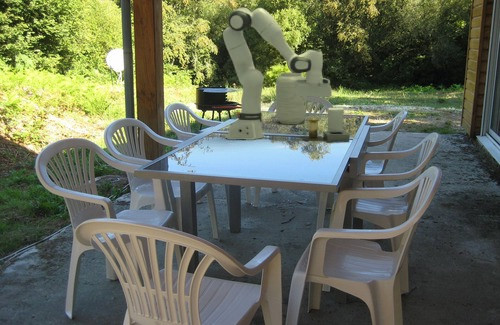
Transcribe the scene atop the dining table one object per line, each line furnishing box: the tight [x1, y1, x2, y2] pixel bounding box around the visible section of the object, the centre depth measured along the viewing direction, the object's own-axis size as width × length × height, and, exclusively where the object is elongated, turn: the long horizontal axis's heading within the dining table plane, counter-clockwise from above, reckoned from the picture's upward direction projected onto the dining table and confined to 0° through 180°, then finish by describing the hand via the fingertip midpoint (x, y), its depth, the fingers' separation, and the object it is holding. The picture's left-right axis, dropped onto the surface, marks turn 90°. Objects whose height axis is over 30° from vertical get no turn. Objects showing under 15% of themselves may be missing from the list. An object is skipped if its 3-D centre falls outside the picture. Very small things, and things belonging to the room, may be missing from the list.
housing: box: [322, 130, 350, 143], centre depth 273 cm, size 12×12×4 cm
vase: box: [275, 71, 307, 125], centre depth 334 cm, size 20×20×34 cm
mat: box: [300, 135, 325, 142], centre depth 279 cm, size 12×12×1 cm
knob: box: [307, 116, 320, 139], centre depth 278 cm, size 6×6×11 cm
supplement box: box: [327, 107, 345, 131], centre depth 293 cm, size 9×9×15 cm
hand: (312, 105), depth 275 cm, fingers open, 8 cm apart
